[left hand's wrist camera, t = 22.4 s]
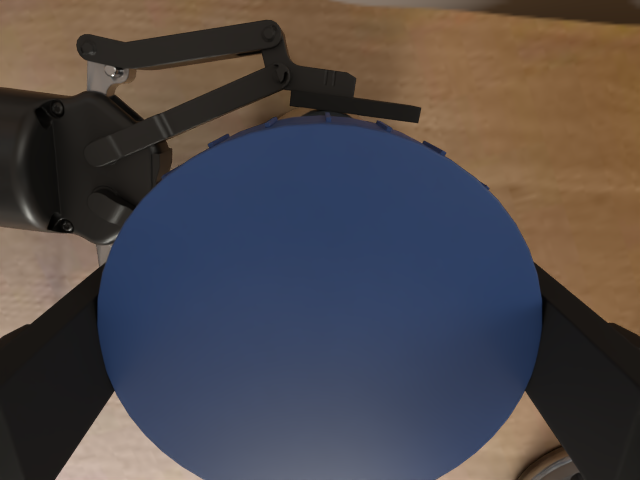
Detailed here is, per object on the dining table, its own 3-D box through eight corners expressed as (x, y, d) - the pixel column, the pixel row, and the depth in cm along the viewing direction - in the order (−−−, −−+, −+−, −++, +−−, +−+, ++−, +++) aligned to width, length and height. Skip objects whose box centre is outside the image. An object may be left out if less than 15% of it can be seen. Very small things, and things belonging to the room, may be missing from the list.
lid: (402, 479, 15) (416, 549, 13) (98, 383, 13) (54, 442, 11) (580, 209, 11) (643, 240, 9) (196, 39, 10) (161, 26, 8)
